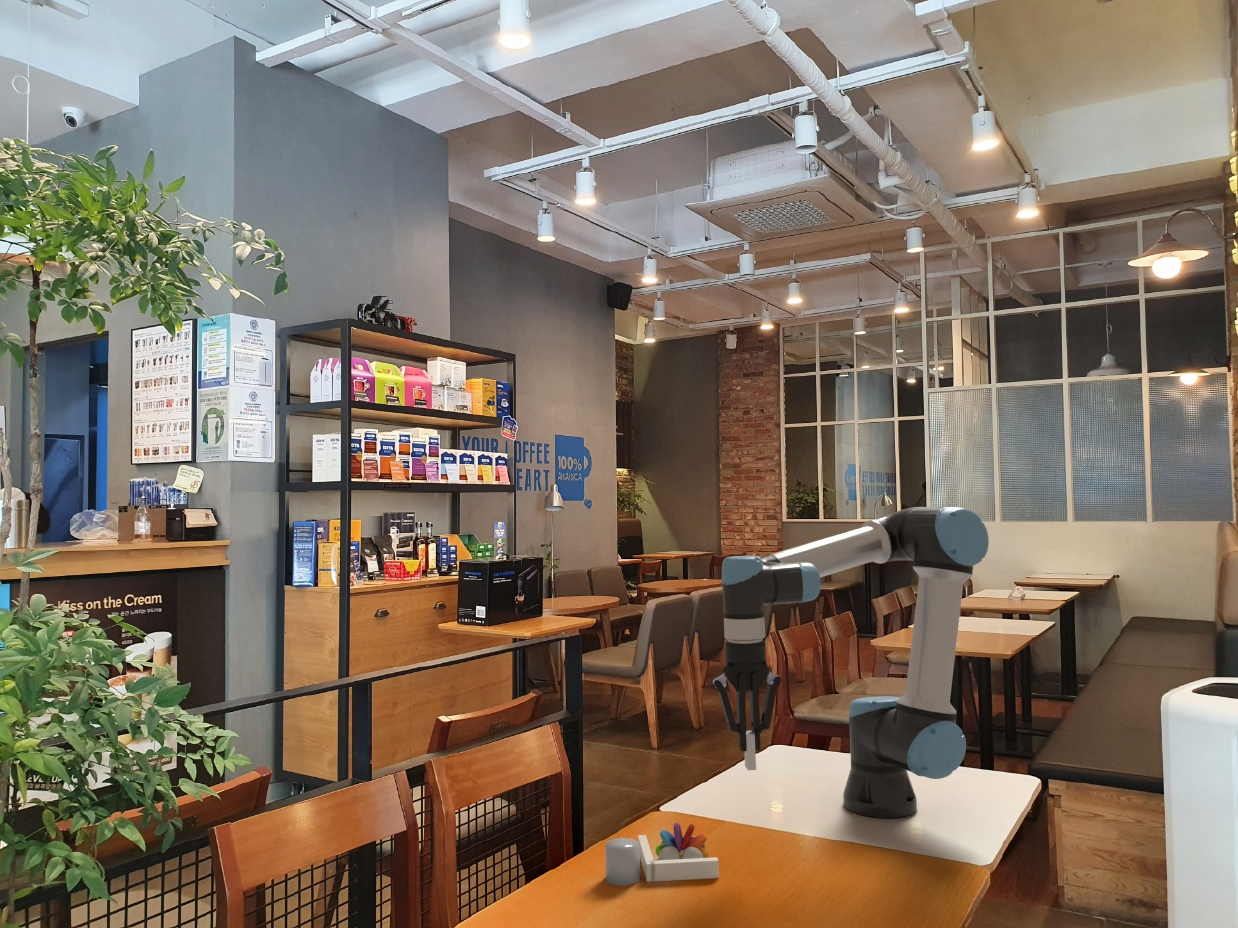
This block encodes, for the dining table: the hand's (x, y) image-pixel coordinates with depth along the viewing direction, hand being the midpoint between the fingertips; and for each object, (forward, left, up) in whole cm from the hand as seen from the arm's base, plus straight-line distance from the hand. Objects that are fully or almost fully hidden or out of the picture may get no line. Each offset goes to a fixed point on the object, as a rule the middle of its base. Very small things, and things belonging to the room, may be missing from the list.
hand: (750, 767), depth 169 cm
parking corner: (+13, 0, -17) cm, 21 cm away
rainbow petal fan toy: (+13, 0, -17) cm, 21 cm away
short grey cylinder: (+24, +5, -17) cm, 30 cm away
